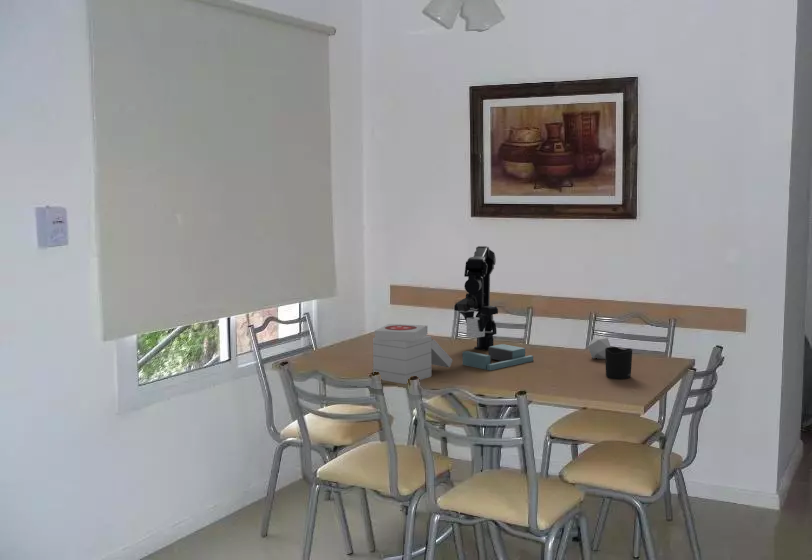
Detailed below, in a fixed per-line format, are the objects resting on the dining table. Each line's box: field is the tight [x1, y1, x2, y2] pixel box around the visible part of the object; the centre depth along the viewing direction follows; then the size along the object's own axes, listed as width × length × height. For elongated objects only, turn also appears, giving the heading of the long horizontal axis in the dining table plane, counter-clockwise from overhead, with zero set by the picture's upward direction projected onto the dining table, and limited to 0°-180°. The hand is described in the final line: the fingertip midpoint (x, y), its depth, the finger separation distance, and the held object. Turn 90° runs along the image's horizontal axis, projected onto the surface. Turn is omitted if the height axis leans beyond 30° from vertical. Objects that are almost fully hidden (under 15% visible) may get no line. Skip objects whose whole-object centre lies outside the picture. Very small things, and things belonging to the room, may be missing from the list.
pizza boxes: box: [372, 323, 454, 385], centre depth 327 cm, size 19×30×18 cm, turn 141°
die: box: [587, 336, 612, 360], centre depth 353 cm, size 8×9×10 cm
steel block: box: [466, 316, 485, 339], centre depth 349 cm, size 6×4×7 cm, turn 41°
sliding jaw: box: [487, 343, 526, 362], centre depth 351 cm, size 12×8×5 cm, turn 42°
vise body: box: [462, 350, 534, 371], centre depth 346 cm, size 14×24×5 cm, turn 132°
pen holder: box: [604, 346, 633, 380], centre depth 321 cm, size 9×9×10 cm
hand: (475, 330), depth 349 cm, fingers closed on steel block, 6 cm apart
